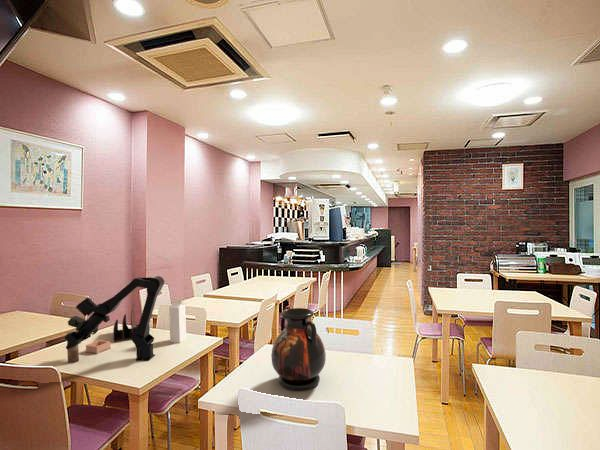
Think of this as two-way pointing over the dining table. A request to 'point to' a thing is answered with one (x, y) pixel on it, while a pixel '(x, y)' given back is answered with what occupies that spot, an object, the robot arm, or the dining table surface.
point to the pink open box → (98, 346)
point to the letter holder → (126, 332)
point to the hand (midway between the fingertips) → (69, 346)
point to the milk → (177, 321)
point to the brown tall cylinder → (73, 352)
